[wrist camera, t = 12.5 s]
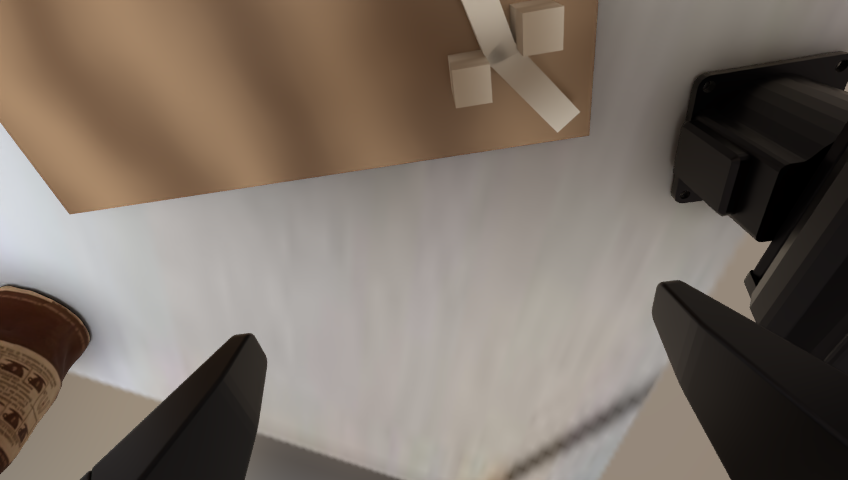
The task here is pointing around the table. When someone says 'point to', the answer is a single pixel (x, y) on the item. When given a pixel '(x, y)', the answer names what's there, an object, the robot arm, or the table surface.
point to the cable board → (280, 88)
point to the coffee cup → (32, 362)
